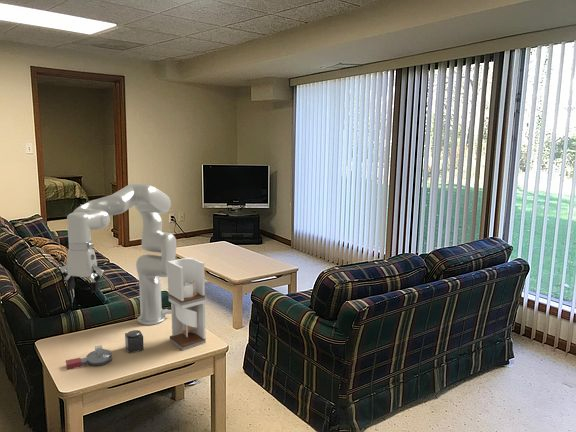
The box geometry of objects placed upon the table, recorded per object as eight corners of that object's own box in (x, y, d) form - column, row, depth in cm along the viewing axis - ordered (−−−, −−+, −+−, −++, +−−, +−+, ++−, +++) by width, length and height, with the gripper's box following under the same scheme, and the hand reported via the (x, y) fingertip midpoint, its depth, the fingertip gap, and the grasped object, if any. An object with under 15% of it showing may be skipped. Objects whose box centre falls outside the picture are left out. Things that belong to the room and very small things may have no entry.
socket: (140, 343, 192) (139, 328, 190) (143, 349, 186) (143, 334, 185) (125, 347, 189) (124, 331, 187) (128, 353, 184) (127, 337, 182)
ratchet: (109, 353, 183) (109, 340, 182) (113, 362, 176) (113, 349, 175) (65, 362, 175) (64, 348, 174) (67, 373, 168) (66, 358, 167)
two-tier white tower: (169, 340, 195) (167, 261, 189) (191, 333, 202) (190, 257, 196) (183, 350, 187) (180, 267, 180) (205, 342, 194) (204, 263, 187)
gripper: (107, 245, 170) (109, 289, 173) (66, 242, 173) (69, 285, 176) (95, 250, 163) (98, 295, 166) (52, 247, 166) (55, 291, 169)
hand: (83, 290), depth 171 cm, fingers open, 9 cm apart
